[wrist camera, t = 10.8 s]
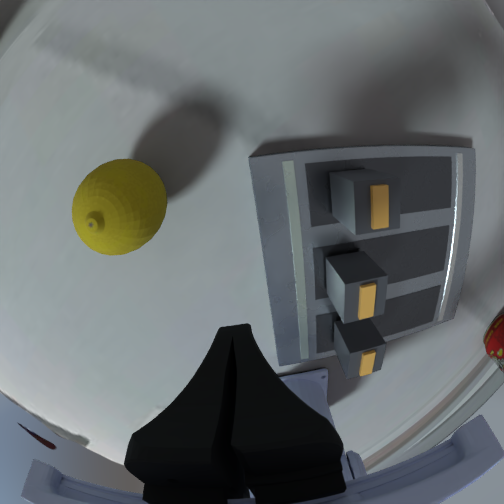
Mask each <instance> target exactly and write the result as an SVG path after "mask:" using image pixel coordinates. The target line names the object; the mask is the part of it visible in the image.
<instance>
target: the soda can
mask: <svg viewBox="0 0 504 504" xmlns="http://www.w3.org/2000/svg"><path fill="white" fill-rule="evenodd" d="M483 342H484V344H485V348H486V352H487V354H488V355H489V356H490V357H491V359H492V360H493V361H494V362H495V363H496V364H497V366H498V367H499V368H500V369H501V371H502V372H503V373H504V313H503V314H500V315H499V316H497V317H496V318H495V319H494V321H493V322H492V323H491V324H490V326H489V327H488V329H487V331H486V333H485V335H484V338H483Z"/></svg>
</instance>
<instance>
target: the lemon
mask: <svg viewBox="0 0 504 504" xmlns="http://www.w3.org/2000/svg"><path fill="white" fill-rule="evenodd" d="M166 208H167V194H166V190H165V187H164V184H163V182H162V180H161V178H160V177H159V175H158V174H157V173H156V172H155V171H154V170H153V169H152V168H151V167H150V166H148V165H146V164H144V163H143V162H140V161H136V160H132V159H117V160H113V161H110V162H107V163H104V164H102V165H100V166H99V167H97V168H96V169H95V170H93V171H92V172H91V173H89V174H88V175H87V176H86V178H85V179H84V180H83V181H82V183H81V184H80V185H79V187H78V189H77V191H76V194H75V196H74V199H73V205H72V220H73V223H74V227H75V230H76V232H77V234H78V235H79V237H80V238H81V240H82V241H83V242H84V243H85V244H86V245H87V246H88V247H90V248H91V249H92V250H94V251H97V252H99V253H101V254H106V255H123V254H126V253H129V252H131V251H134V250H136V249H138V248H140V247H141V246H143V245H144V244H145V243H147V242H148V241H149V240H151V239H152V237H153V236H154V235H155V234H156V232H157V231H158V230H159V228H160V226H161V224H162V222H163V220H164V217H165V214H166Z"/></svg>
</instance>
